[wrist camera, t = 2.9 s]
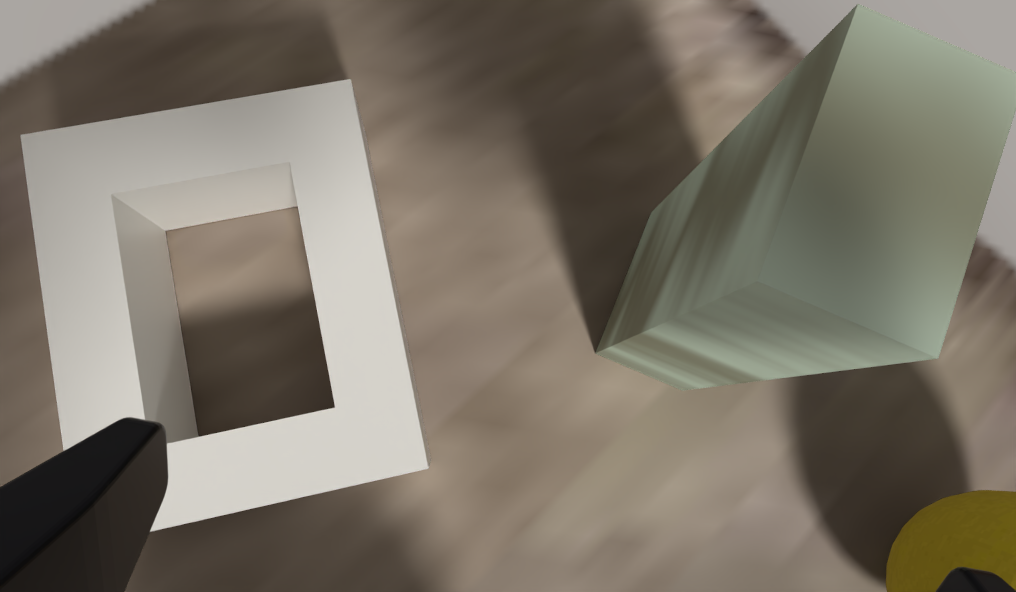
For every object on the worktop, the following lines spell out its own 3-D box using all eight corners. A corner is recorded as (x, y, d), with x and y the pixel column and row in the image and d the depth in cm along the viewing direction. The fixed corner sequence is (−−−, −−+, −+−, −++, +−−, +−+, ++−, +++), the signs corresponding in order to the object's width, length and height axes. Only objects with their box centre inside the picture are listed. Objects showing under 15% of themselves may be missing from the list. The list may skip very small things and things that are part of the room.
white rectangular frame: (431, 460, 24) (428, 468, 20) (140, 526, 23) (77, 548, 19) (365, 132, 25) (350, 78, 21) (89, 181, 24) (20, 134, 20)
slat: (682, 390, 25) (938, 358, 12) (595, 353, 25) (757, 281, 12) (735, 248, 26) (1025, 76, 13) (651, 212, 26) (858, 3, 13)
